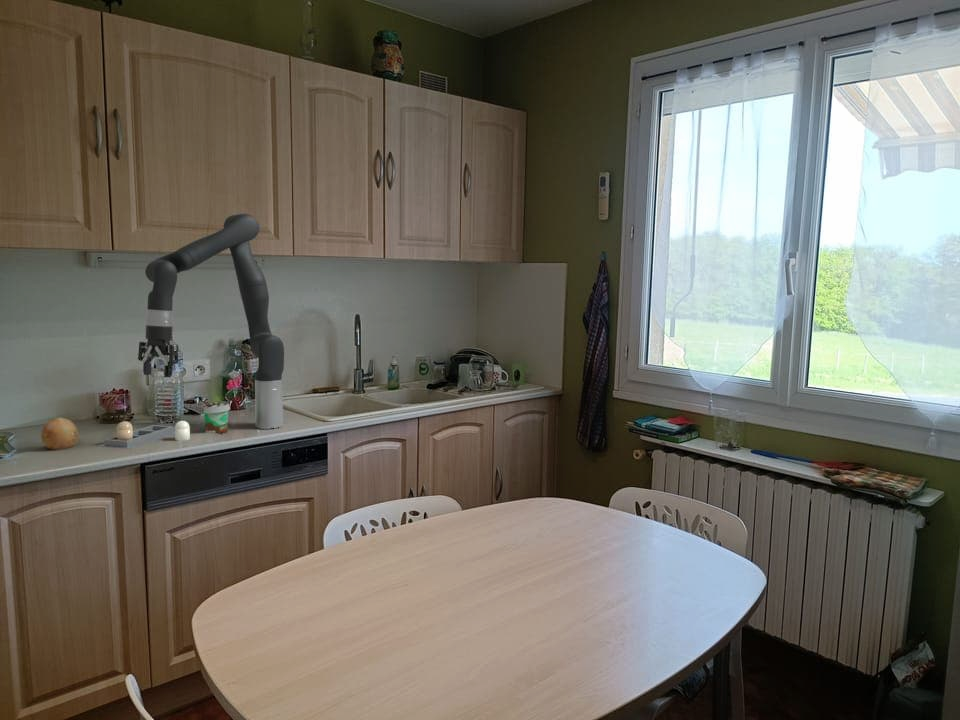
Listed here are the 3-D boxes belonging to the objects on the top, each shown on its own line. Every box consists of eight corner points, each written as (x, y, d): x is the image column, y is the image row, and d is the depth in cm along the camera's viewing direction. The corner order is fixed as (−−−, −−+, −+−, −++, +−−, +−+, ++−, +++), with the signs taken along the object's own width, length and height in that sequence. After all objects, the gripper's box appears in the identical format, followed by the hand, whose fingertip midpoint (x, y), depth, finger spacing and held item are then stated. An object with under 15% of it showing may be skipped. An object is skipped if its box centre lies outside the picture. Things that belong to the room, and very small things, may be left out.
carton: (149, 432, 228) (149, 424, 228) (181, 434, 226) (180, 426, 226) (96, 449, 205) (96, 440, 205) (130, 451, 203) (130, 442, 202)
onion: (73, 453, 199) (71, 421, 198) (35, 455, 197) (33, 421, 196) (84, 445, 209) (83, 414, 207) (49, 446, 206) (47, 415, 205)
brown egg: (124, 441, 211) (123, 419, 210) (136, 442, 210) (135, 420, 209) (113, 444, 207) (112, 422, 206) (126, 445, 206) (125, 423, 205)
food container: (222, 437, 223) (221, 407, 222) (204, 436, 224) (203, 407, 222) (236, 428, 236) (235, 401, 234) (219, 428, 236) (218, 400, 235)
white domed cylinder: (180, 440, 218) (180, 419, 218) (193, 440, 217) (192, 419, 217) (172, 443, 214) (171, 421, 213) (184, 444, 213) (183, 422, 212)
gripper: (186, 326, 209) (184, 377, 210) (152, 323, 215) (150, 373, 216) (167, 325, 202) (164, 379, 203) (132, 323, 208) (130, 374, 209)
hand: (157, 376), depth 209 cm, fingers open, 8 cm apart
